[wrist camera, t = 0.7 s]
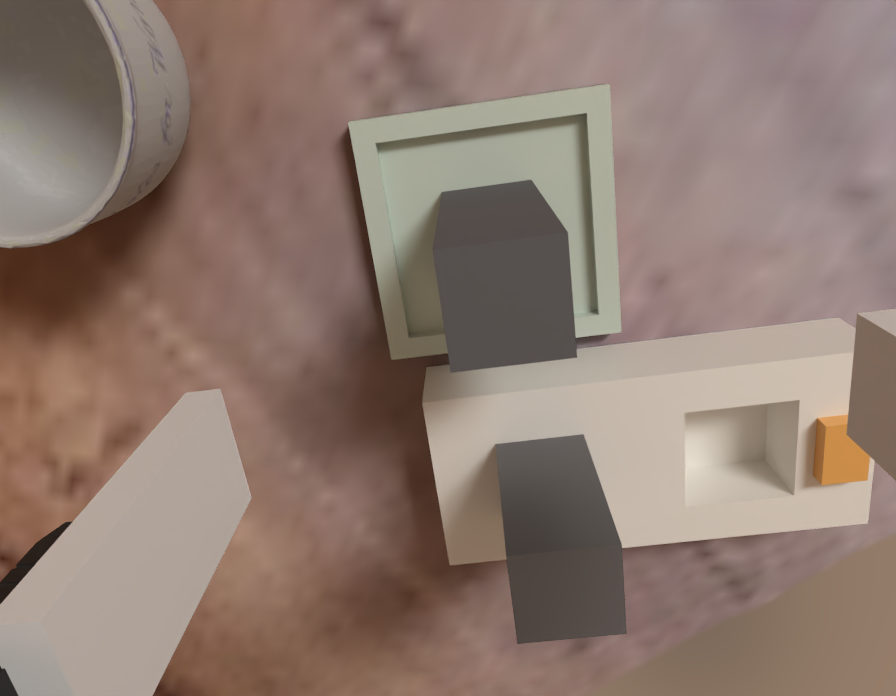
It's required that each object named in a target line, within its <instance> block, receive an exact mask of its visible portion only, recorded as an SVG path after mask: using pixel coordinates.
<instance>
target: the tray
mask: <svg viewBox="0 0 896 696" xmlns="http://www.w3.org/2000/svg"><path fill="white" fill-rule="evenodd" d="M348 125H349V131H350V136H351V142H352V147H353V153H354V158H355V163H356V169H357V174H358V180H359V185H360V191H361V196H362V202H363V207H364V213H365V218H366V224H367V229H368V235H369V240H370V246H371V251H372V256H373V262H374V267H375V273H376V278H377V284H378V289H379V295H380V300H381V306H382V311H383V317H384V322H385V328H386V333H387V339H388V344H389V350H390V355H391V360H397V359H405V358H413V357H421V356H429V355H438V354H446V353H448V351H447V344H446V337H445V331H444V324H443V317H442V311H441V304H440V297H439V290H438V284H437V277H436V270H435V264H434V257H433V244H434V238H435V231H436V225H437V219H438V213H439V206H440V200H441V194H442V192H445V191H452V190H459V189H467V188H474V187H481V186H488V185H496V184H503V183H510V182H518V181H525V180H532V181H533V183H534V184H535V186H536V187H537V189H538V190H539V191H540V193H541V194H542V196H543V197H544V199H545V200H546V201H547V203H548V204H549V206H550V207H551V209H552V210H553V212H554V213H555V214H556V216H557V217H558V219H559V220H560V222H561V223H562V224H563V226H564V227H565V229H566V230H567V232H568V240H569V254H570V267H571V281H572V294H573V308H574V321H575V335H576V338H578V337H586V336H594V335H602V334H610V333H619V332H621V314H620V293H619V271H618V250H617V229H616V207H615V186H614V165H613V144H612V122H611V101H610V84H601V85H594V86H587V87H580V88H573V89H566V90H559V91H553V92H546V93H539V94H532V95H525V96H518V97H511V98H505V99H498V100H491V101H484V102H477V103H470V104H463V105H457V106H450V107H443V108H436V109H429V110H422V111H415V112H409V113H402V114H395V115H388V116H381V117H374V118H367V119H361V120H354V121H350V122H348Z"/></svg>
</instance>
